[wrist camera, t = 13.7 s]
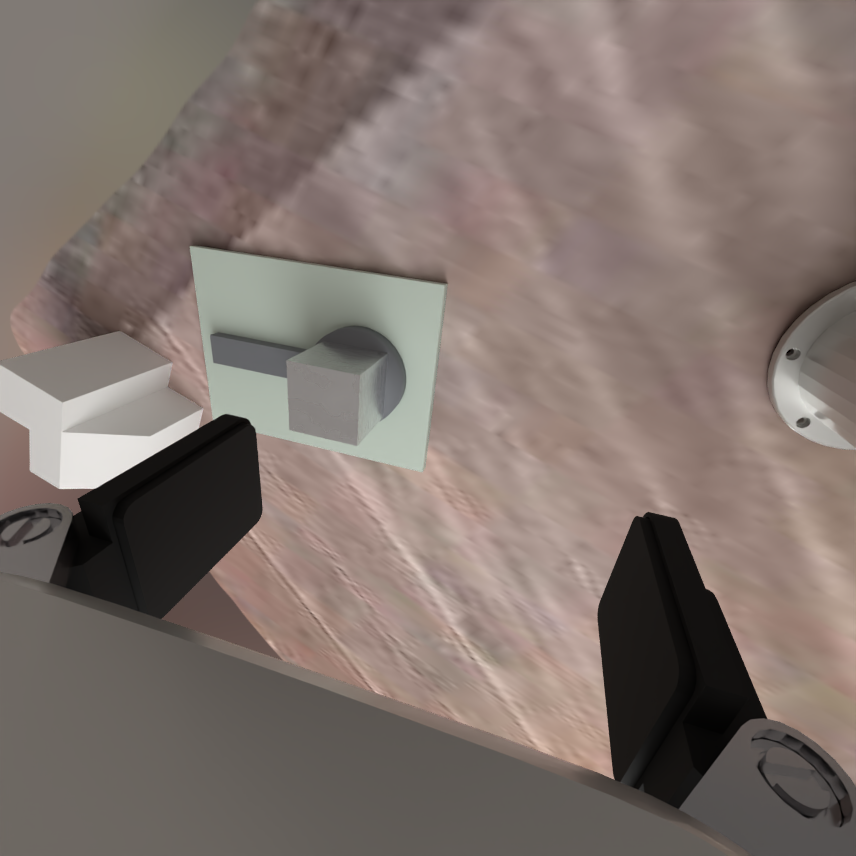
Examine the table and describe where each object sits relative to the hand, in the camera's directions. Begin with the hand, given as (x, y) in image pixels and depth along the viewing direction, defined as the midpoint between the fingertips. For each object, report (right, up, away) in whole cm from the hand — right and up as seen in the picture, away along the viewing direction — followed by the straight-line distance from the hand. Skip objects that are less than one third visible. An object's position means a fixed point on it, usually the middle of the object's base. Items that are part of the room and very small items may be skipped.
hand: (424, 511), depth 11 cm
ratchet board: (-11, +8, +32) cm, 34 cm away
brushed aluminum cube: (-7, +6, +28) cm, 30 cm away
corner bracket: (-31, +6, +39) cm, 50 cm away
